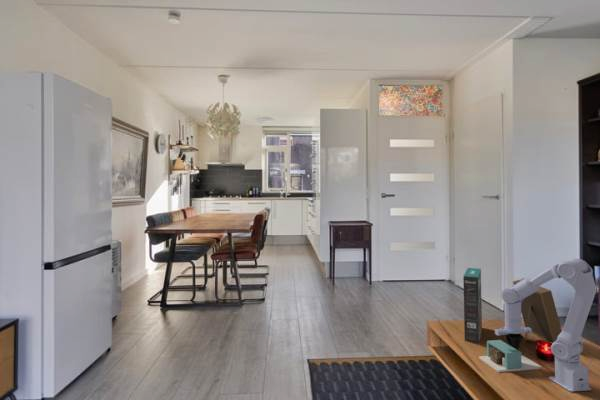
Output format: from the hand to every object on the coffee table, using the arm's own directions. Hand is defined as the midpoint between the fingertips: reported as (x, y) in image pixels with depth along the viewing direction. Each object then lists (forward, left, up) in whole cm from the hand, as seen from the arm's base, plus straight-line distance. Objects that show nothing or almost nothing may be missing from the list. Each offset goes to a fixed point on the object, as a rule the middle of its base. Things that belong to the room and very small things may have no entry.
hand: (513, 352), depth 143 cm
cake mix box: (+31, -3, -5) cm, 31 cm away
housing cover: (0, +4, -4) cm, 6 cm away
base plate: (0, +2, -4) cm, 5 cm away
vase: (+16, -12, -5) cm, 20 cm away
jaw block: (0, +6, -4) cm, 7 cm away
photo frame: (+22, -27, -5) cm, 35 cm away
